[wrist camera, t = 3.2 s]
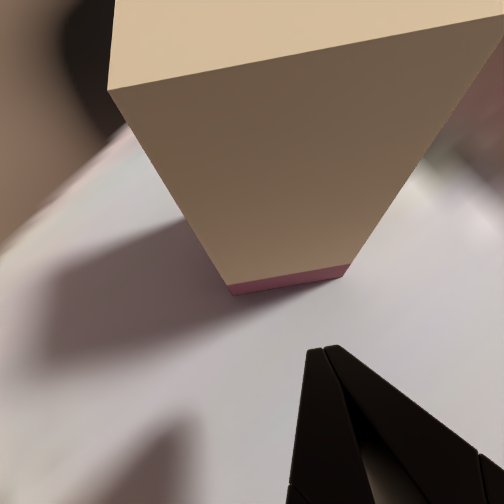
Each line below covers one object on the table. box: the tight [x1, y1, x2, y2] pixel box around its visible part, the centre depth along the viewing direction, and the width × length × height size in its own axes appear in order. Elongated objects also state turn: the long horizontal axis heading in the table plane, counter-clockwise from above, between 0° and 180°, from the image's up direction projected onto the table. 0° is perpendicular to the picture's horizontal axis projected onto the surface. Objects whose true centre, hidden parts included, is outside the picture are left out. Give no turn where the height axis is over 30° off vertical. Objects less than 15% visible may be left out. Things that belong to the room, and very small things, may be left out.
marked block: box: [107, 0, 504, 296], centre depth 11 cm, size 6×6×12 cm
